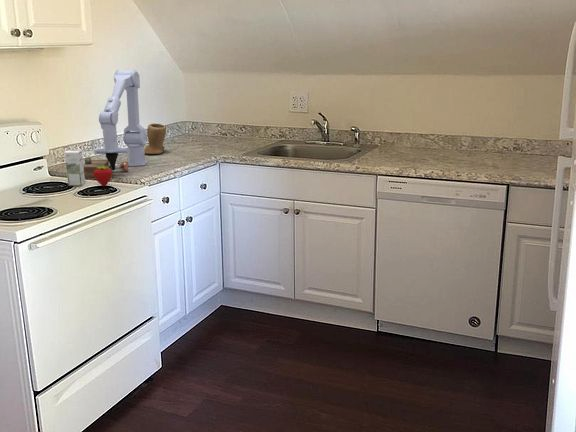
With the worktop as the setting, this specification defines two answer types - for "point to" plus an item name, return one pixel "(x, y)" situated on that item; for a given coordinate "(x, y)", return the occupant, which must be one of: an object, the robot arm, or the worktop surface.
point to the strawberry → (102, 175)
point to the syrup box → (74, 167)
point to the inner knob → (121, 166)
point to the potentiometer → (88, 159)
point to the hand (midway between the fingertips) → (113, 169)
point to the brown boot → (155, 138)
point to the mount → (93, 167)
